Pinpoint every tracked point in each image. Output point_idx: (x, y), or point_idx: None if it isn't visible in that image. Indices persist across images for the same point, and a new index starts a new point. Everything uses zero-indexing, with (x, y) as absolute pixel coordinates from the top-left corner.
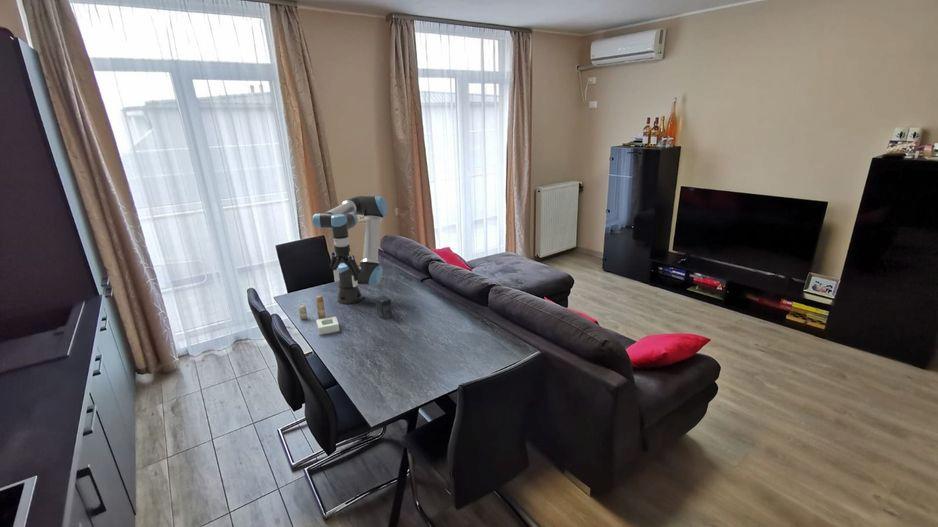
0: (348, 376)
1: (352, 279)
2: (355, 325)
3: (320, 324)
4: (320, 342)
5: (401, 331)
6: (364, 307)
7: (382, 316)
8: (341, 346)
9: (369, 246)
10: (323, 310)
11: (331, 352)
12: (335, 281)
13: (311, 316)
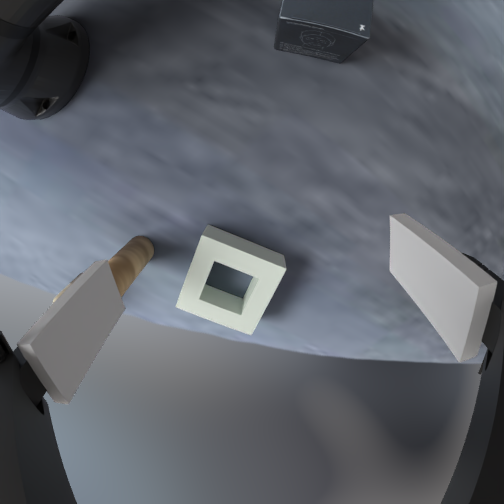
0: None
1: (436, 320)
2: (294, 181)
3: (228, 317)
4: (303, 338)
5: (467, 110)
6: (160, 48)
7: (339, 60)
8: (382, 308)
9: None
10: (136, 266)
11: (381, 341)
12: (121, 311)
13: (87, 259)
